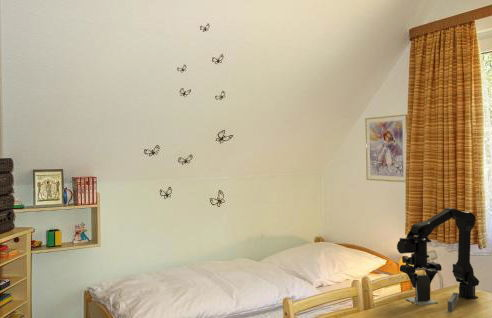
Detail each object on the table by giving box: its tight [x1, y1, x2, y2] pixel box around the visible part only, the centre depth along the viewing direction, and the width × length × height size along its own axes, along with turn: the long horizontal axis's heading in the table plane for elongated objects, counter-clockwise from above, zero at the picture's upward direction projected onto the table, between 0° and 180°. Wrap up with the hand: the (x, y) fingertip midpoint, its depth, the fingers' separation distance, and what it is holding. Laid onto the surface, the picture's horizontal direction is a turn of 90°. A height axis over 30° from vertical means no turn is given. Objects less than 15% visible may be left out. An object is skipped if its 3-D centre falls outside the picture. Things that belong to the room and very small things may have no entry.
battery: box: [414, 273, 431, 301], centre depth 189 cm, size 7×4×11 cm, turn 105°
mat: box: [404, 296, 438, 306], centre depth 189 cm, size 10×9×1 cm
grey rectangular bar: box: [447, 292, 459, 312], centre depth 182 cm, size 15×2×4 cm, turn 145°
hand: (421, 286), depth 189 cm, fingers open, 7 cm apart
